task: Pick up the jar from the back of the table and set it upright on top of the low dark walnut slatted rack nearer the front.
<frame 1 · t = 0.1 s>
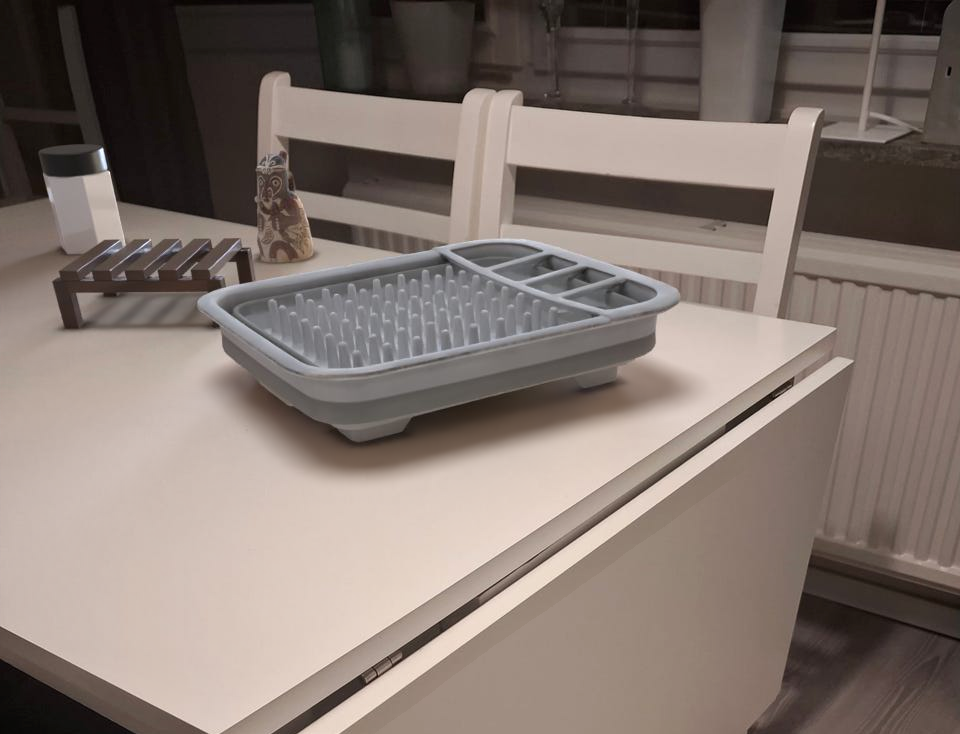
figurine: (286, 258, 132), on the table
rack: (165, 310, 114), on the table
jar: (94, 250, 138), on the table
dish rack: (436, 380, 94), on the table
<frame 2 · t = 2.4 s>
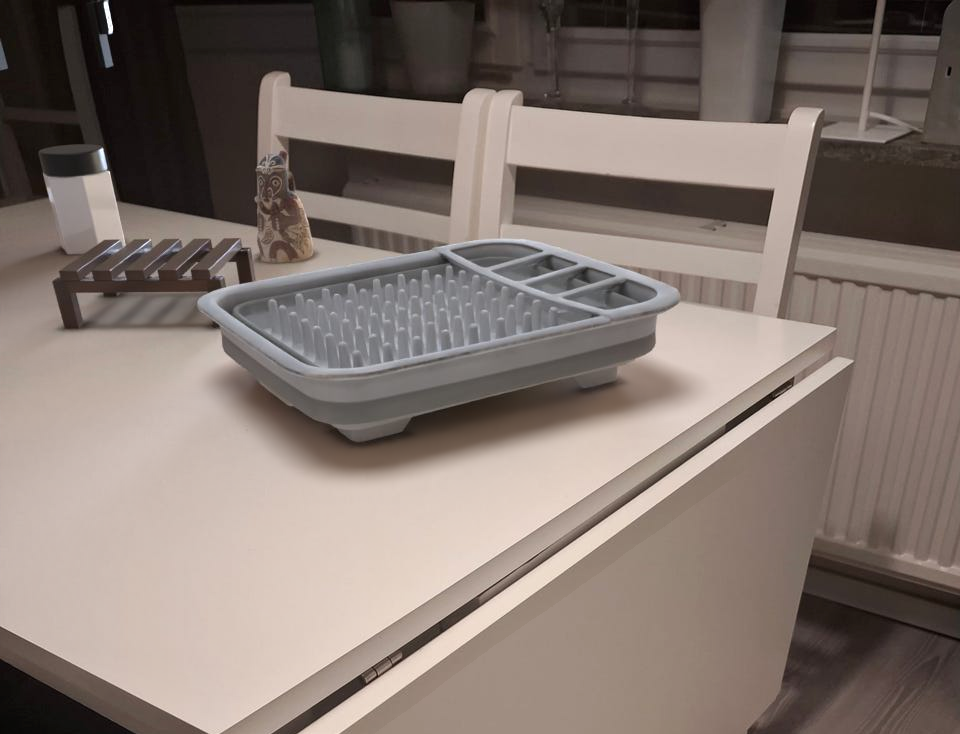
hand: (53, 68, 126), 21 cm above the table, tool pointing down, fingers open, 13 cm apart
nothing on the table moved.
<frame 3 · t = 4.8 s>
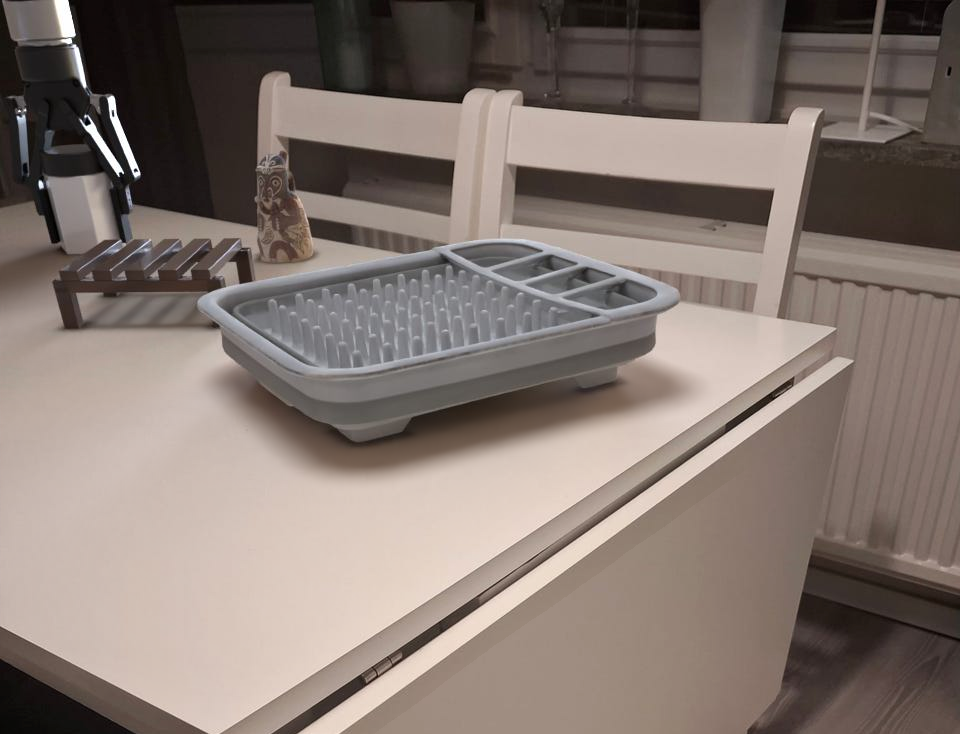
hand: (92, 240, 138), 1 cm above the table, tool pointing down, fingers closed on jar, 9 cm apart
jar: (94, 250, 138), on the table, touching gripper
everything else where it was.
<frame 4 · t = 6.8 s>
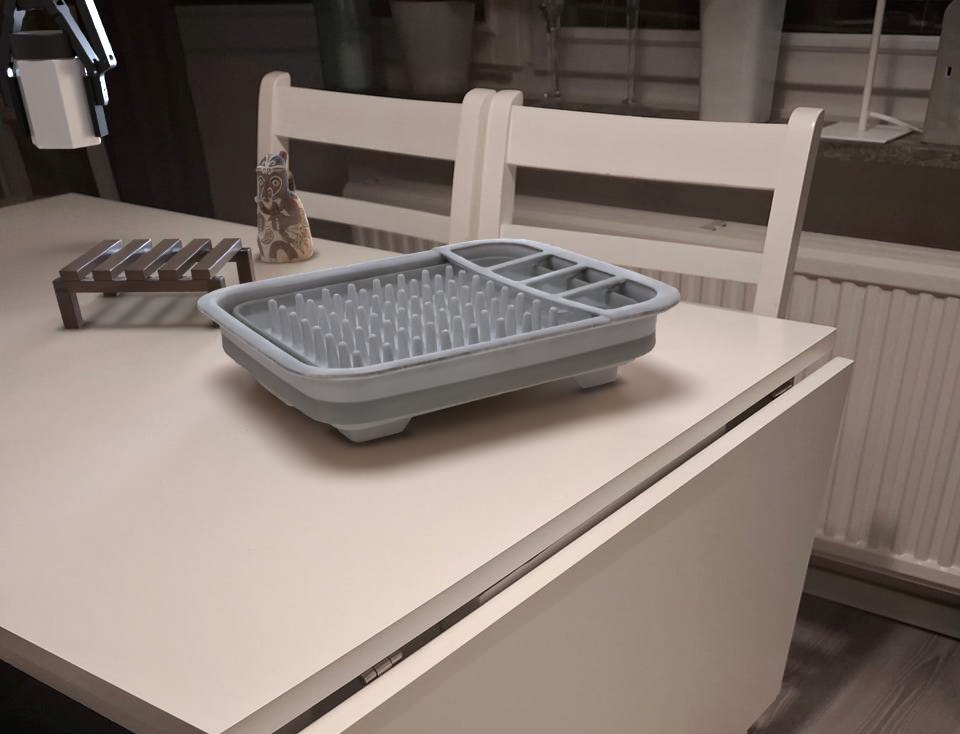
hand: (65, 135, 130), 14 cm above the table, tool pointing down, fingers closed on jar, 9 cm apart
jar: (67, 146, 130), point 12 cm above the table, touching gripper
everything else where it was.
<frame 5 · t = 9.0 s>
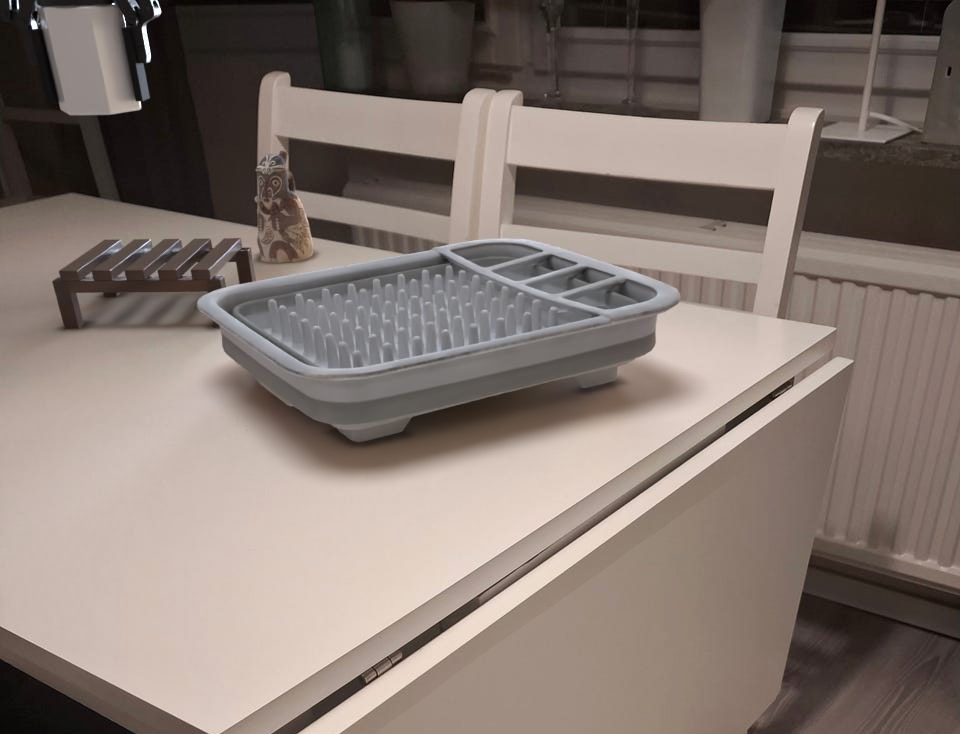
hand: (99, 100, 109), 19 cm above the table, tool pointing down, fingers closed on jar, 9 cm apart
jar: (101, 112, 110), point 18 cm above the table, touching gripper
everything else where it was.
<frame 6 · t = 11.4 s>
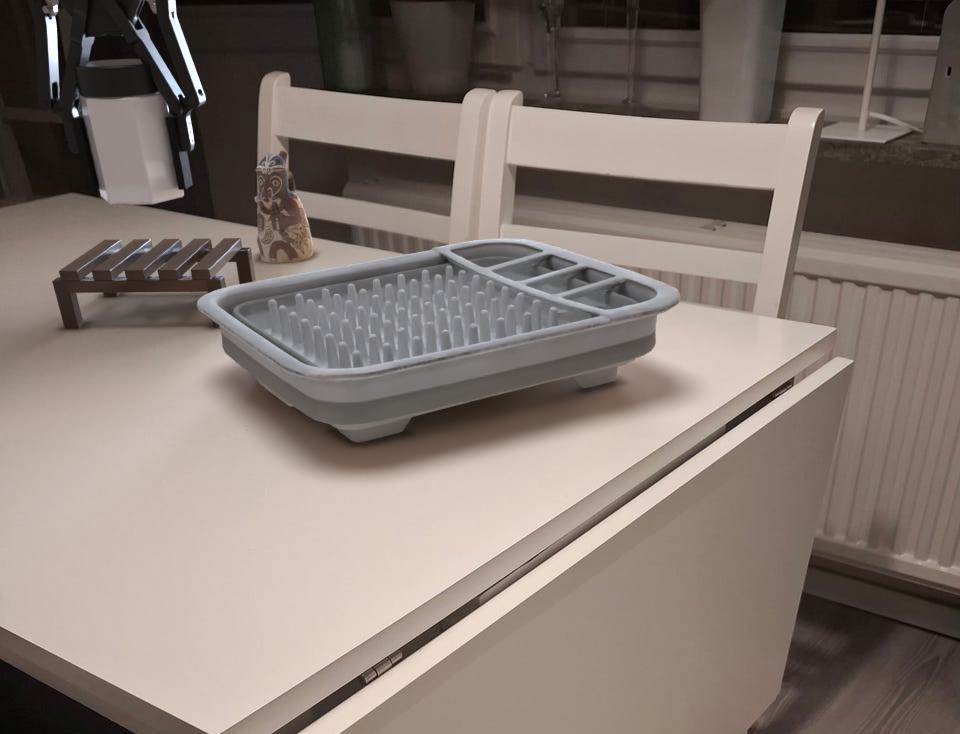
hand: (140, 187, 106), 12 cm above the table, tool pointing down, fingers closed on jar, 9 cm apart
jar: (143, 199, 107), point 11 cm above the table, touching gripper
everything else where it was.
when the fingers open (7 cm above the table, at t = 13.2 s): jar stays where it is, resting on rack.
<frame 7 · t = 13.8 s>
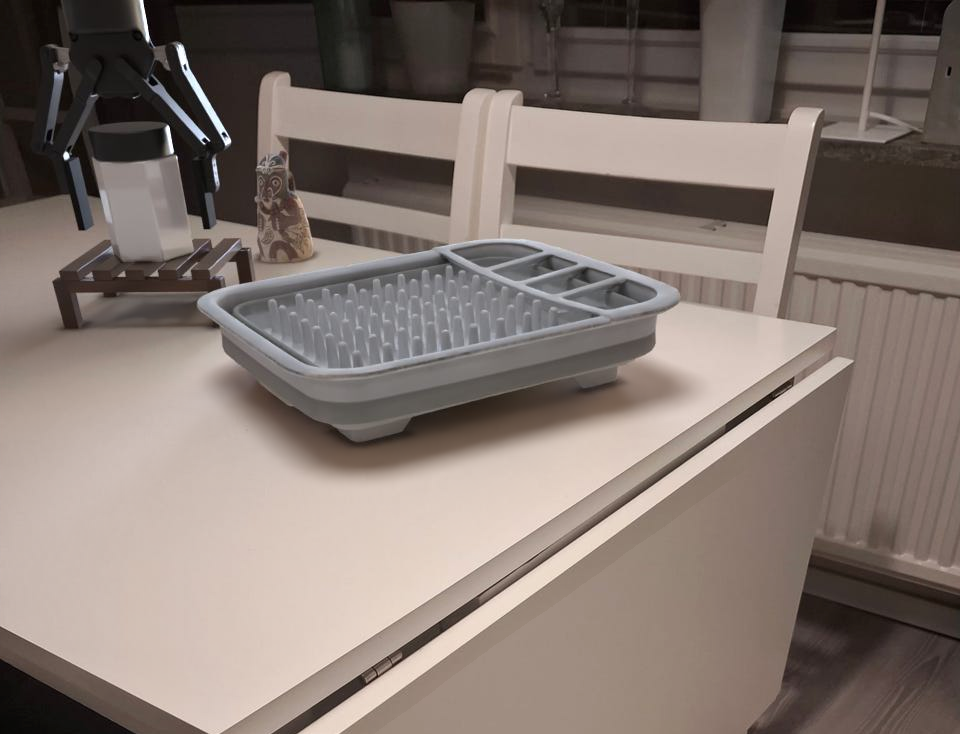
hand: (148, 227, 108), 9 cm above the table, tool pointing down, fingers open, 13 cm apart
jar: (154, 255, 110), point 6 cm above the table, touching rack
everything else where it was.
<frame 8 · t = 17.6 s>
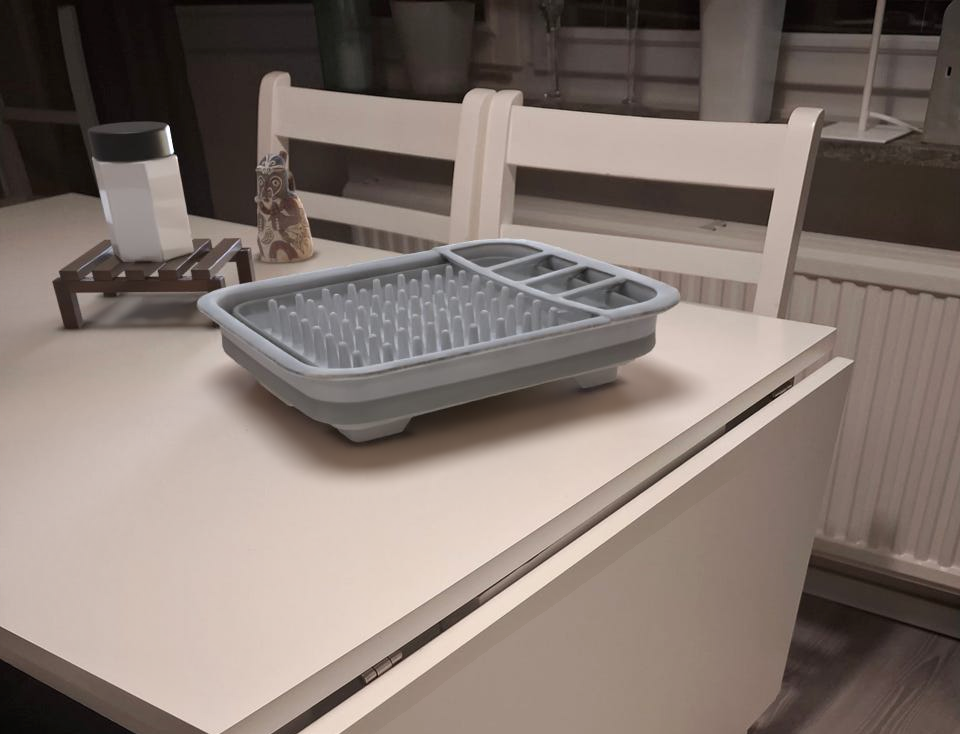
nothing on the table moved.
at the end: jar inside the target area on the rack (0.0 cm from its centre), point 5.8 cm above the rack's base; jar tilted 0°; the gripper is holding nothing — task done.
